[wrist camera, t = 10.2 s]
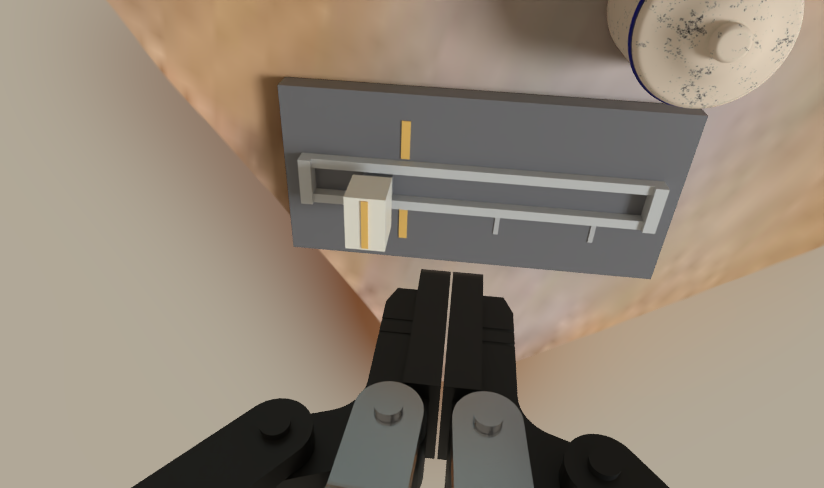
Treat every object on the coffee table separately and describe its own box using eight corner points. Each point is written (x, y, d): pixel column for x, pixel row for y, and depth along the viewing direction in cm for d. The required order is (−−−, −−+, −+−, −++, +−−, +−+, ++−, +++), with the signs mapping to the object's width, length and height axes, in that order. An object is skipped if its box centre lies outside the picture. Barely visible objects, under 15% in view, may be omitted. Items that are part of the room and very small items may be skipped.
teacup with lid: (630, 90, 42) (674, 156, 32) (580, -22, 38) (614, 15, 29) (805, 0, 37) (917, 45, 28) (769, -137, 34) (884, -140, 24)
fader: (360, 156, 45) (342, 197, 39) (397, 159, 45) (385, 201, 39) (361, 203, 47) (344, 249, 42) (396, 206, 47) (384, 252, 41)
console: (285, 76, 44) (271, 90, 41) (699, 106, 42) (714, 123, 39) (299, 234, 53) (289, 255, 50) (645, 265, 50) (654, 289, 48)
